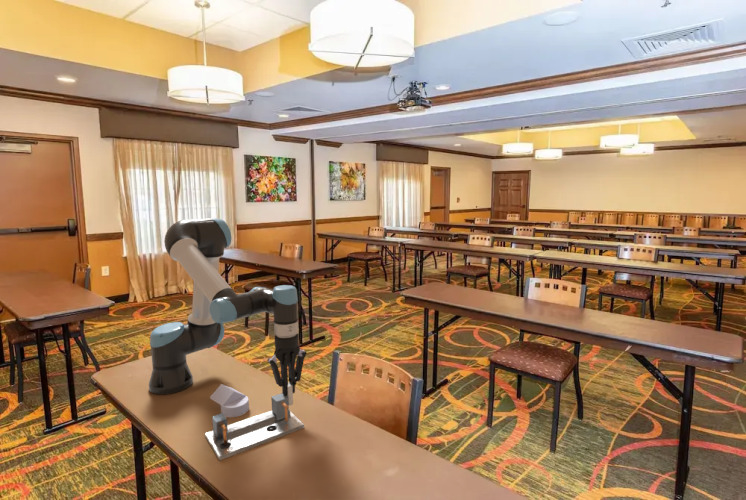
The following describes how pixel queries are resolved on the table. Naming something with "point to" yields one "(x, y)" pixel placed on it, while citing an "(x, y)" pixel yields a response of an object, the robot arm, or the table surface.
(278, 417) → the slider
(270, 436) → the bolt plate
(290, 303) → the robot arm
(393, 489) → the table surface
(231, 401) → the wedge on round base
